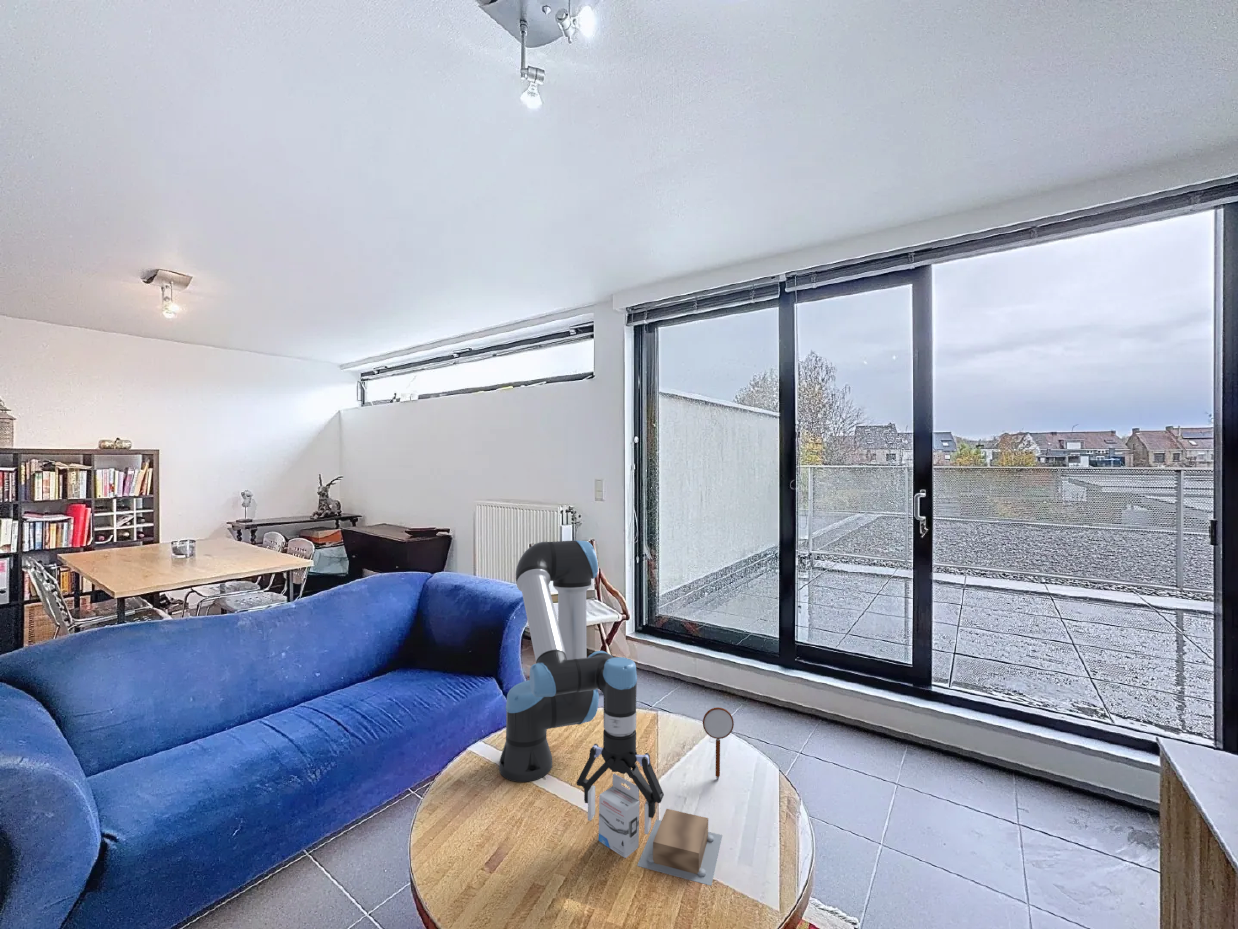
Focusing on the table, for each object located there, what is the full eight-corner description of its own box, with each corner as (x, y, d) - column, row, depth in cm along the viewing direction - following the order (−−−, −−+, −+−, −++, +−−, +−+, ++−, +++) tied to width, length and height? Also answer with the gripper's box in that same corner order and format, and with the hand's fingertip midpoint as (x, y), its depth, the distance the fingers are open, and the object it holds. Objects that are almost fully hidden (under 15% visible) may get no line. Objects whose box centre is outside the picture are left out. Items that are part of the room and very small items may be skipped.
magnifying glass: (732, 778, 149) (733, 706, 149) (733, 781, 147) (734, 709, 147) (701, 777, 149) (702, 705, 149) (702, 780, 147) (703, 708, 148)
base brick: (652, 862, 115) (653, 842, 115) (666, 827, 126) (666, 808, 126) (698, 874, 111) (698, 853, 111) (708, 837, 123) (708, 818, 123)
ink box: (597, 845, 121) (598, 781, 122) (611, 834, 125) (612, 772, 125) (625, 864, 116) (626, 796, 116) (639, 852, 119) (640, 786, 120)
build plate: (636, 871, 114) (637, 863, 114) (656, 824, 129) (656, 817, 129) (711, 891, 108) (711, 883, 108) (722, 840, 124) (722, 833, 124)
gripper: (563, 727, 121) (562, 821, 121) (669, 746, 113) (668, 847, 113) (576, 714, 128) (575, 802, 128) (676, 731, 120) (676, 825, 120)
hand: (619, 823), depth 120 cm, fingers open, 13 cm apart
